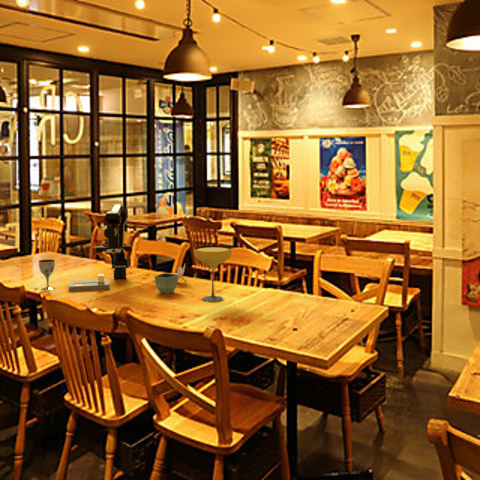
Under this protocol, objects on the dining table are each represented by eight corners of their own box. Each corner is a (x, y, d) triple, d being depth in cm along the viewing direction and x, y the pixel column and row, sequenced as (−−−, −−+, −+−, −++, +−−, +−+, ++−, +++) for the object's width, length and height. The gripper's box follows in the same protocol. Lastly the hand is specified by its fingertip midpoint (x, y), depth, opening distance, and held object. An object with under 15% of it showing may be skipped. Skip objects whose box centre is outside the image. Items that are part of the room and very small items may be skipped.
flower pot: (167, 295, 280) (167, 277, 279) (154, 293, 285) (154, 275, 283) (178, 291, 288) (178, 274, 286) (165, 289, 292) (165, 272, 291)
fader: (103, 283, 301) (103, 273, 300) (104, 285, 296) (103, 275, 295) (98, 283, 300) (97, 273, 299) (98, 285, 295) (98, 275, 294)
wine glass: (41, 291, 288) (39, 262, 285) (38, 288, 295) (37, 260, 292) (57, 289, 291) (55, 261, 289) (54, 286, 298) (53, 258, 296)
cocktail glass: (187, 301, 268) (187, 250, 264) (203, 293, 285) (203, 244, 281) (222, 305, 262) (222, 252, 258) (236, 296, 278) (237, 247, 275)
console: (108, 283, 306) (108, 278, 305) (109, 289, 292) (109, 284, 292) (70, 285, 301) (70, 280, 300) (69, 291, 287) (69, 286, 287)
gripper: (130, 233, 306) (130, 261, 308) (94, 234, 301) (95, 262, 303) (131, 236, 295) (132, 265, 298) (95, 237, 290) (96, 266, 293)
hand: (114, 264), depth 298 cm, fingers closed
